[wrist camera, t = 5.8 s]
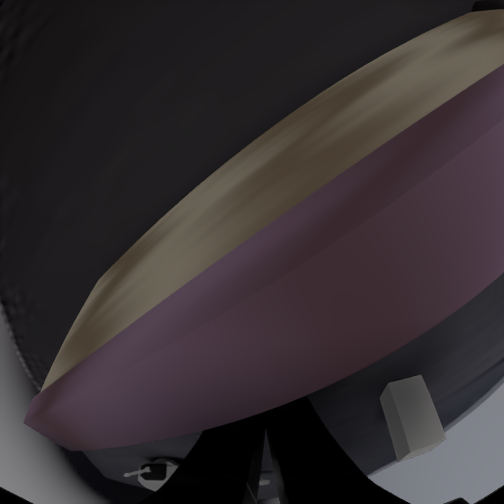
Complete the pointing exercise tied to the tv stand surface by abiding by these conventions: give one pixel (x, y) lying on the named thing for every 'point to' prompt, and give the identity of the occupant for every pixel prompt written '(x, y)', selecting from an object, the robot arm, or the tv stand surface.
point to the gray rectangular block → (411, 417)
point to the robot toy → (162, 473)
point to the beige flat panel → (300, 252)
